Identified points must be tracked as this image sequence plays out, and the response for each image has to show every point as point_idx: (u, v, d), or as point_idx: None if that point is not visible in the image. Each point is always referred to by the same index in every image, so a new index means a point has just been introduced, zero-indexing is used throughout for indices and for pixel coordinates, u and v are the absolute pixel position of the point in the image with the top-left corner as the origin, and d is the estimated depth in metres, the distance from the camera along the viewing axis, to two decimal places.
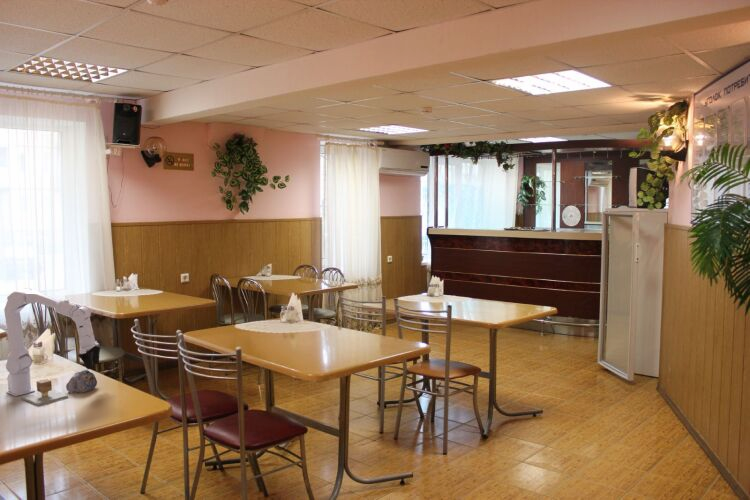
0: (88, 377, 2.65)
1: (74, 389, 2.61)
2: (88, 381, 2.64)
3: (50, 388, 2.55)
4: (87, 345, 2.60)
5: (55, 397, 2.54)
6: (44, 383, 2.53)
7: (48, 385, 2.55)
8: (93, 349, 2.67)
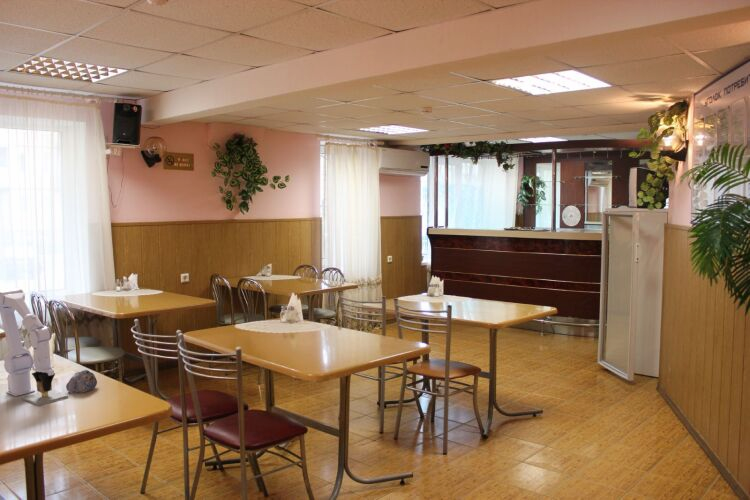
0: (88, 377, 2.65)
1: (74, 389, 2.61)
2: (88, 381, 2.64)
3: (50, 388, 2.55)
4: (47, 367, 2.53)
5: (55, 397, 2.54)
6: None
7: None
8: (41, 373, 2.56)
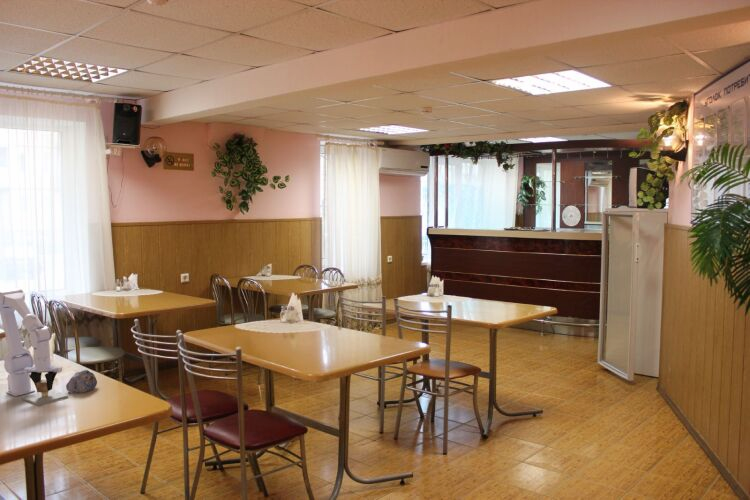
0: (88, 377, 2.65)
1: (74, 389, 2.61)
2: (88, 381, 2.64)
3: None
4: (50, 366, 2.55)
5: (55, 397, 2.54)
6: None
7: None
8: (38, 374, 2.55)
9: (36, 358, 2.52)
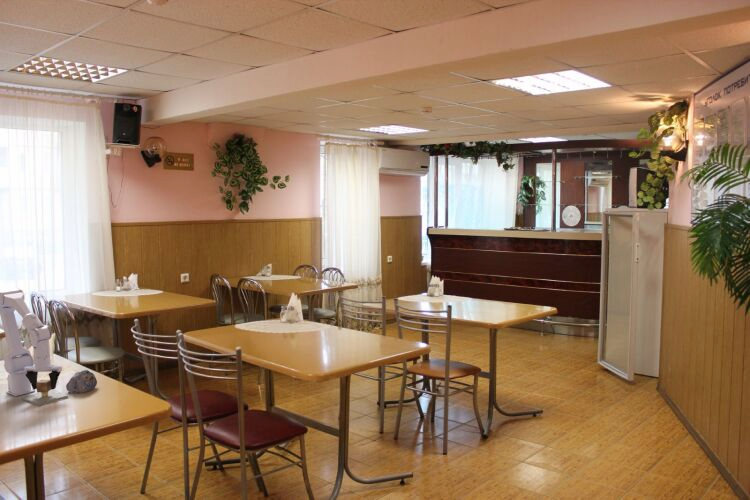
0: (88, 377, 2.65)
1: (74, 389, 2.61)
2: (88, 381, 2.64)
3: None
4: (50, 365, 2.55)
5: (55, 397, 2.54)
6: (47, 382, 2.54)
7: (50, 384, 2.56)
8: (34, 373, 2.55)
9: (36, 357, 2.51)
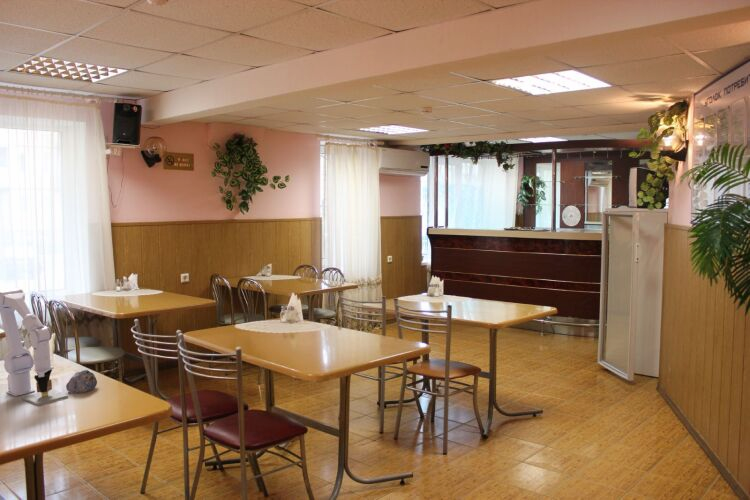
0: (88, 377, 2.65)
1: (74, 389, 2.61)
2: (88, 381, 2.64)
3: (51, 387, 2.57)
4: (43, 368, 2.52)
5: (55, 397, 2.54)
6: None
7: (50, 384, 2.56)
8: (44, 372, 2.58)
9: (36, 358, 2.52)
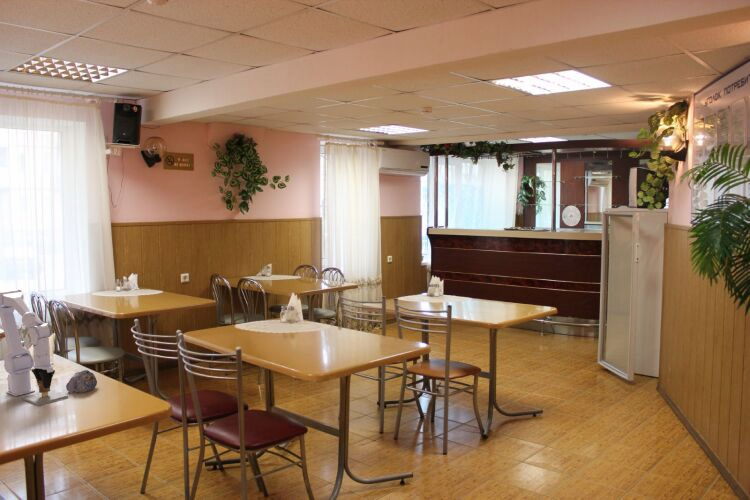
0: (88, 377, 2.65)
1: (74, 389, 2.61)
2: (88, 381, 2.64)
3: None
4: (47, 364, 2.53)
5: (55, 397, 2.54)
6: None
7: None
8: (40, 370, 2.57)
9: (36, 355, 2.51)
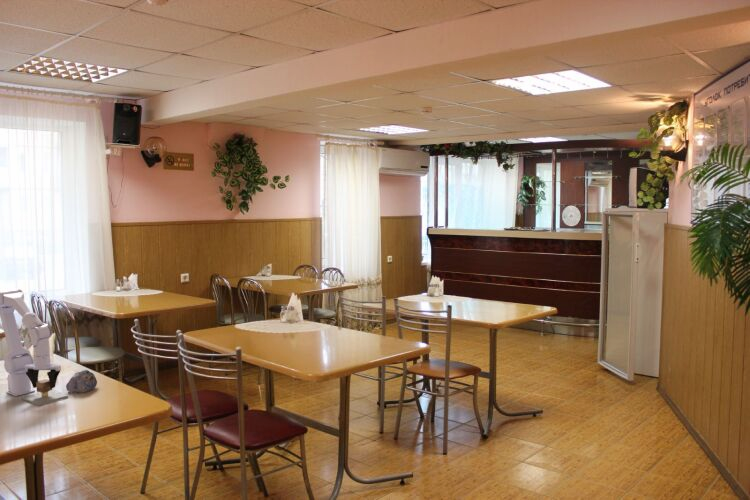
0: (88, 377, 2.65)
1: (74, 389, 2.61)
2: (88, 381, 2.64)
3: None
4: (49, 364, 2.55)
5: (55, 397, 2.54)
6: None
7: None
8: (35, 371, 2.55)
9: (36, 356, 2.51)
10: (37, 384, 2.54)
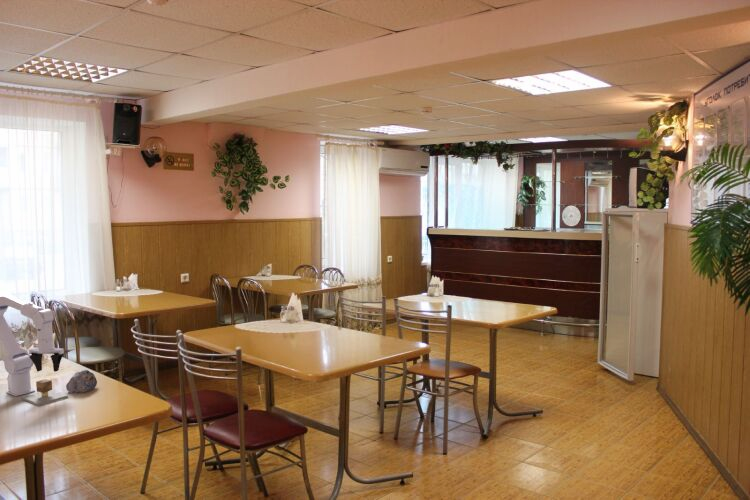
0: (88, 377, 2.65)
1: (74, 389, 2.61)
2: (88, 381, 2.64)
3: None
4: (53, 347, 2.58)
5: (55, 397, 2.54)
6: None
7: None
8: (38, 355, 2.59)
9: (41, 339, 2.55)
10: (37, 384, 2.54)
